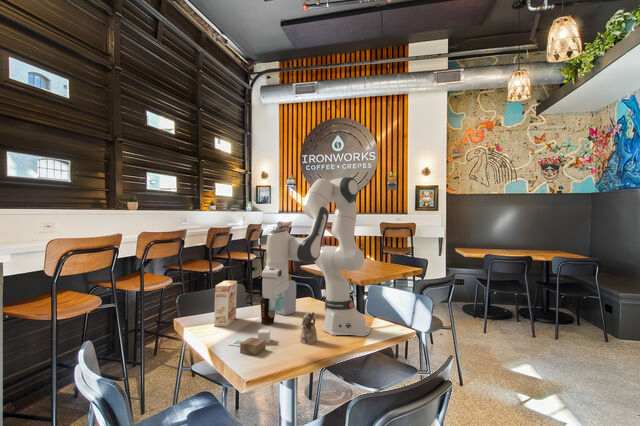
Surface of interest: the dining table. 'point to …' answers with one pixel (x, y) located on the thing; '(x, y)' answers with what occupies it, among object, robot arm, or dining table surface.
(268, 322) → the coffee cup
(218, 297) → the coffeecake box
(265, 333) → the cream cube
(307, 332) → the figurine
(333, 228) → the robot arm
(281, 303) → the teal cube
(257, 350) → the walnut base
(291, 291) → the soap bottle
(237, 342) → the tile
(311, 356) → the dining table surface
